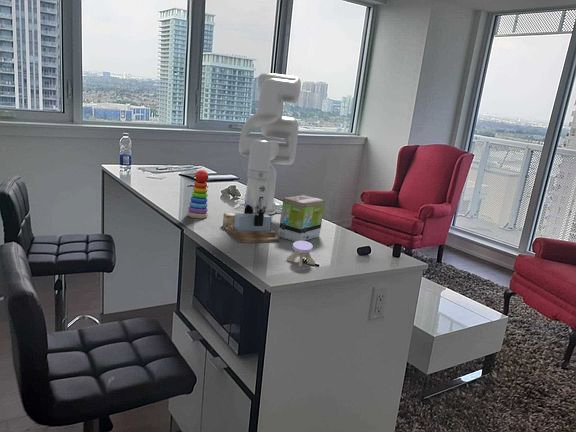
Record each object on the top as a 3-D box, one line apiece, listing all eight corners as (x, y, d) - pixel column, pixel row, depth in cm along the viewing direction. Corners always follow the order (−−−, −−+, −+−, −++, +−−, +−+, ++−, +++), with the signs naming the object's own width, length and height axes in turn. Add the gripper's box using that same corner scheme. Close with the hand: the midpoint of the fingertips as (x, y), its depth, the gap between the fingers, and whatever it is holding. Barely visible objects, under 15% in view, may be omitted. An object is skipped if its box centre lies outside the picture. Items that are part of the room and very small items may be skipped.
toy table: (291, 255, 153) (293, 238, 152) (318, 261, 151) (320, 244, 150) (282, 263, 144) (284, 245, 143) (311, 269, 142) (313, 251, 140)
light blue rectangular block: (264, 231, 175) (266, 214, 173) (269, 234, 171) (271, 217, 169) (233, 230, 170) (235, 213, 168) (237, 234, 166) (239, 216, 164)
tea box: (300, 243, 168) (306, 203, 165) (277, 236, 173) (282, 197, 170) (320, 236, 181) (325, 199, 178) (297, 230, 186) (302, 193, 183)
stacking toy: (190, 219, 183) (194, 171, 179) (184, 214, 190) (188, 167, 186) (210, 219, 187) (214, 172, 182) (203, 214, 193) (207, 168, 189)
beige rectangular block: (251, 225, 185) (253, 213, 184) (255, 228, 182) (256, 215, 181) (222, 225, 179) (223, 213, 178) (225, 228, 176) (226, 215, 175)
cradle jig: (261, 229, 181) (262, 223, 180) (279, 241, 167) (280, 235, 166) (224, 229, 174) (225, 222, 173) (239, 242, 160) (240, 235, 160)
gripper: (278, 180, 160) (272, 229, 163) (258, 171, 175) (253, 216, 178) (257, 179, 156) (252, 229, 160) (239, 170, 171) (234, 216, 175)
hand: (252, 222), depth 169 cm, fingers open, 9 cm apart
